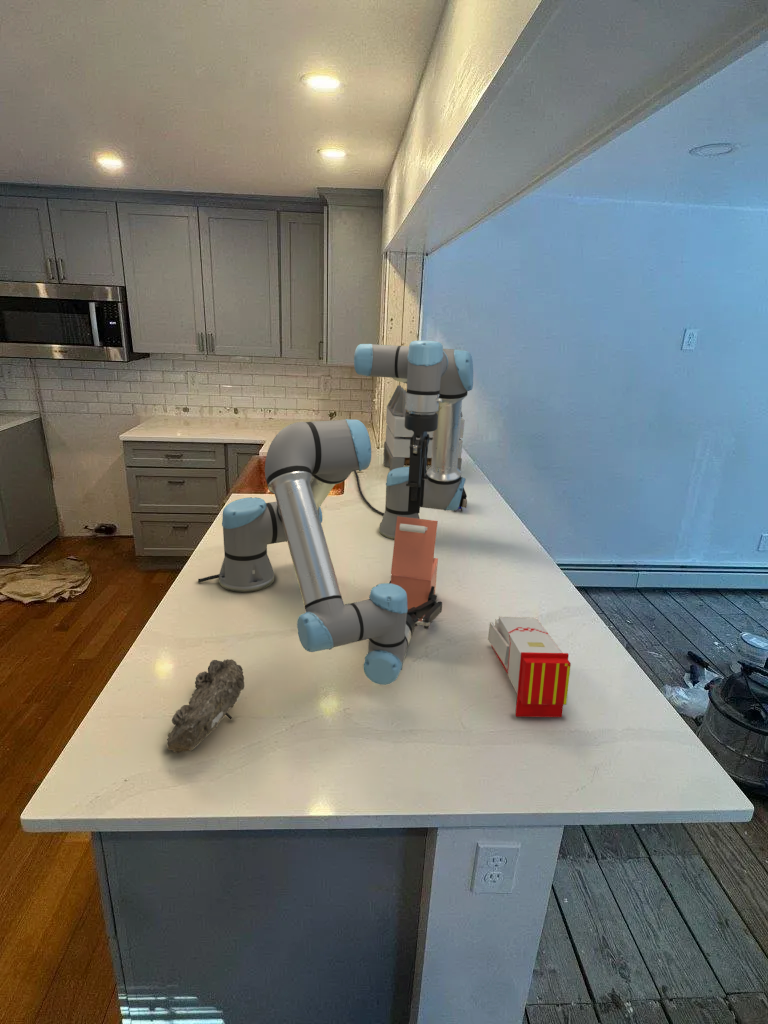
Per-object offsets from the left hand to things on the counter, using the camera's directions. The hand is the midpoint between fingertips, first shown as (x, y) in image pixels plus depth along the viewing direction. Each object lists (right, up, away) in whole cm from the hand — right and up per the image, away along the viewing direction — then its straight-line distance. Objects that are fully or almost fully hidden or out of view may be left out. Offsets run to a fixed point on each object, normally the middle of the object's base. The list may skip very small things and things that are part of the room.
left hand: (411, 588), depth 147 cm
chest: (0, -5, +6) cm, 8 cm away
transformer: (+10, +39, +128) cm, 134 cm away
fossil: (-40, -19, -39) cm, 59 cm away
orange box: (0, +11, -5) cm, 12 cm away
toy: (+23, -16, -23) cm, 36 cm away
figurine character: (+22, +22, +82) cm, 88 cm away
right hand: (0, +21, -11) cm, 23 cm away
